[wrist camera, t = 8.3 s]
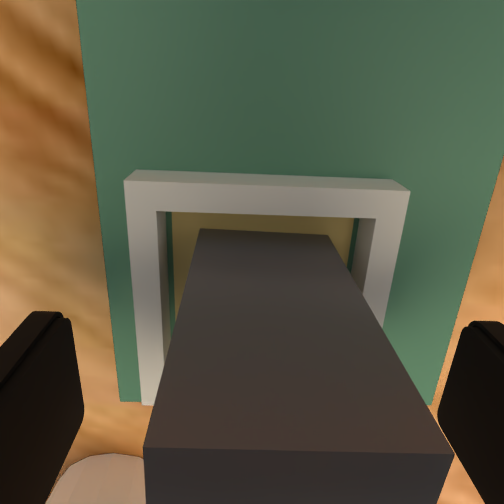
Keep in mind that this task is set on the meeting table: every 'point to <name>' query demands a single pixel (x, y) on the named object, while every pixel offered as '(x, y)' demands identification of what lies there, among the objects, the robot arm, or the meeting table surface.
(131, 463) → the white cylinder
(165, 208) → the board
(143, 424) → the meeting table surface
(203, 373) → the plug
